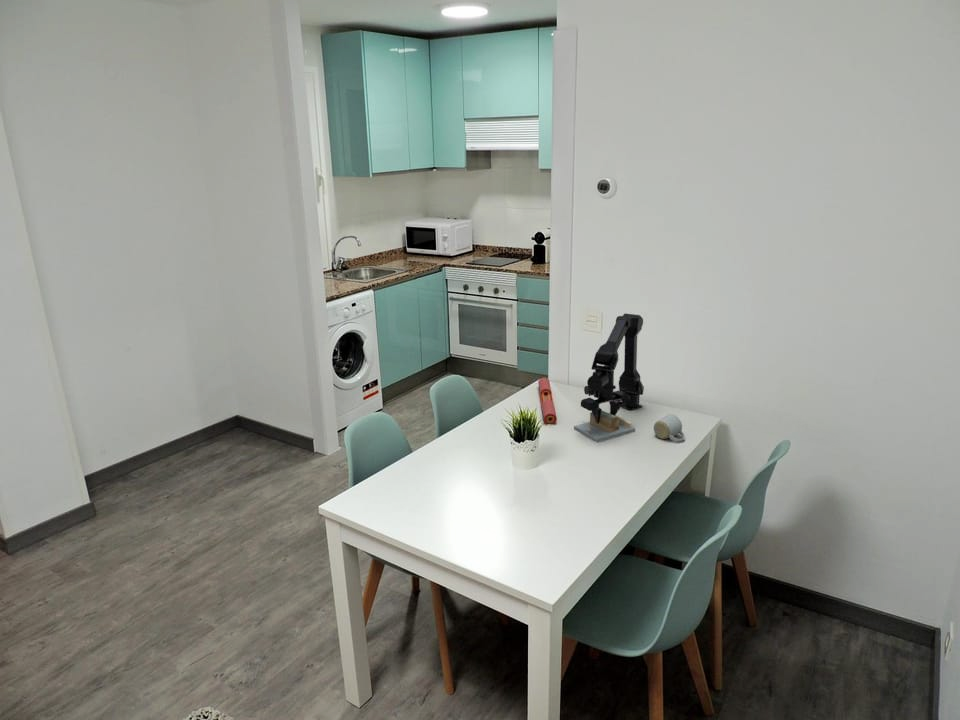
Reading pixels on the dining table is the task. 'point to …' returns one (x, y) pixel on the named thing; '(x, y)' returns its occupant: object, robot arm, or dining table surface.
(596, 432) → the grey flat panel
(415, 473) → the dining table surface
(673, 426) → the ceramic mug
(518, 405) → the dining table surface
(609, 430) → the frame
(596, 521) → the dining table surface
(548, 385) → the blood vessel
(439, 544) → the dining table surface
